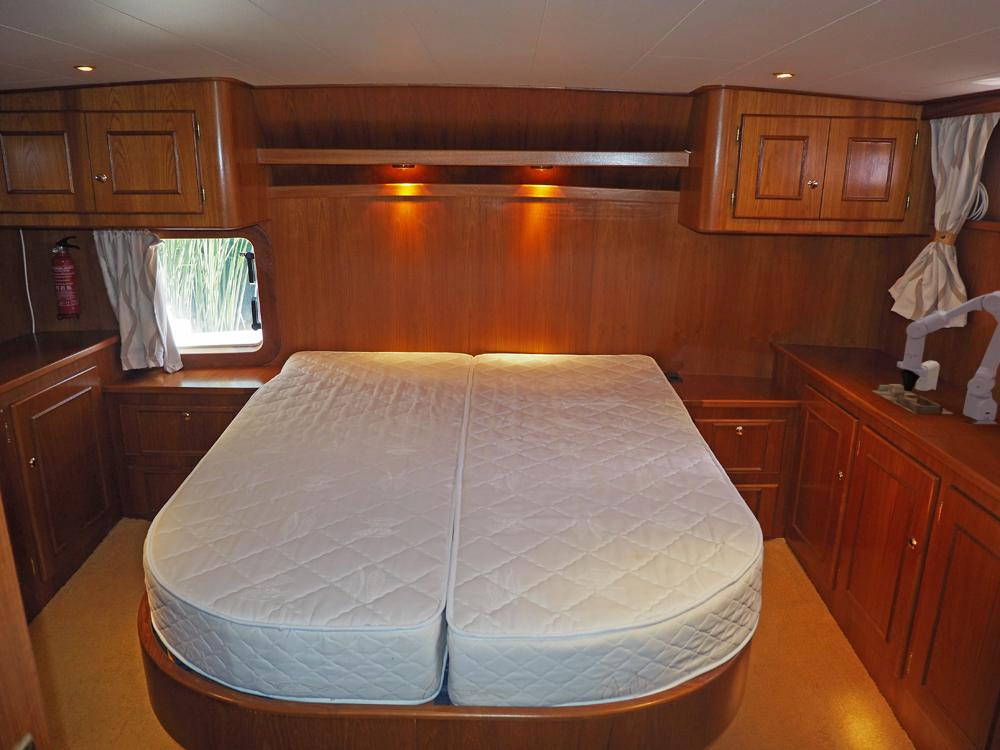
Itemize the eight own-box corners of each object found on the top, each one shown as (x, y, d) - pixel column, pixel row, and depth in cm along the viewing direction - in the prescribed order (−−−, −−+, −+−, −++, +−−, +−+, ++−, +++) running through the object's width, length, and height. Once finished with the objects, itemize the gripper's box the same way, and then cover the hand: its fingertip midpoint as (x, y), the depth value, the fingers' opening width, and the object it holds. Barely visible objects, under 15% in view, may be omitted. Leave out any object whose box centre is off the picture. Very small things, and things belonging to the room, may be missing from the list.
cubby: (941, 413, 246) (943, 406, 245) (917, 413, 246) (919, 406, 245) (919, 402, 258) (920, 395, 258) (896, 402, 258) (897, 395, 257)
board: (953, 417, 246) (955, 407, 245) (913, 417, 246) (915, 407, 245) (906, 394, 273) (907, 385, 272) (870, 394, 273) (871, 384, 272)
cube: (904, 397, 264) (905, 387, 263) (893, 397, 264) (895, 387, 263) (897, 394, 268) (899, 384, 267) (887, 394, 268) (889, 384, 267)
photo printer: (924, 395, 272) (929, 364, 269) (912, 392, 276) (918, 361, 273) (937, 391, 278) (942, 360, 275) (925, 388, 282) (931, 358, 278)
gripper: (891, 349, 262) (885, 385, 265) (914, 359, 248) (908, 396, 251) (910, 349, 262) (904, 385, 266) (934, 359, 248) (928, 396, 252)
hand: (907, 390), depth 259 cm, fingers closed
